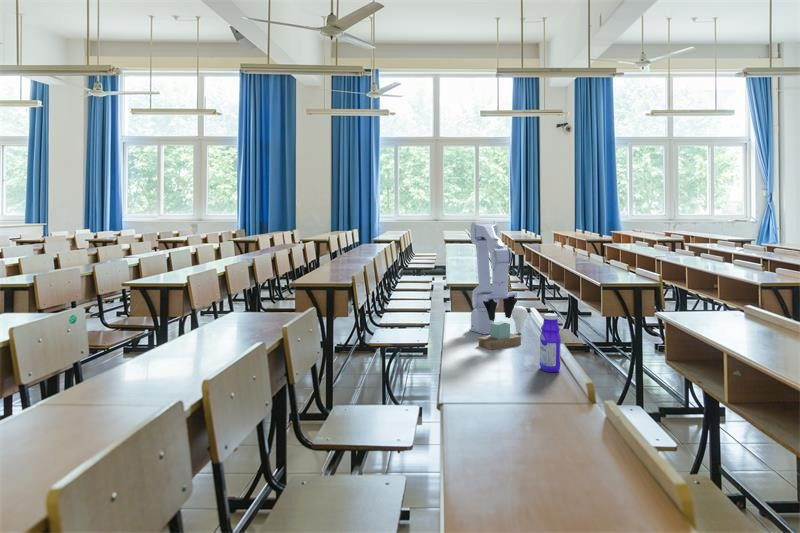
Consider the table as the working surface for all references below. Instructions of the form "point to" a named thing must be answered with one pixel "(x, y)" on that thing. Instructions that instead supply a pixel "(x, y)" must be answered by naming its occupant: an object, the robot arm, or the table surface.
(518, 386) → the table surface
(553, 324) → the bottle
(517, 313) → the lightbulb
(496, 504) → the table surface
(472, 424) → the table surface
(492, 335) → the teal cube
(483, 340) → the pencil box
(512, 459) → the table surface
